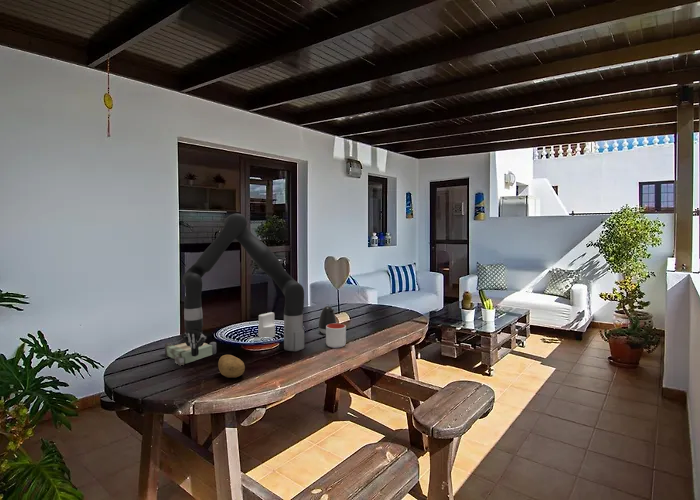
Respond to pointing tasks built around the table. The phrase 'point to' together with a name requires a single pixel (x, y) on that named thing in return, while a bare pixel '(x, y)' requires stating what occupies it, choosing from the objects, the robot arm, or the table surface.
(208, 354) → the leg
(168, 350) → the stool top
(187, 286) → the robot arm
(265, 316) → the base with upright slab
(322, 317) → the dark grey rounded piece
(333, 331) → the cup
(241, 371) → the potato
